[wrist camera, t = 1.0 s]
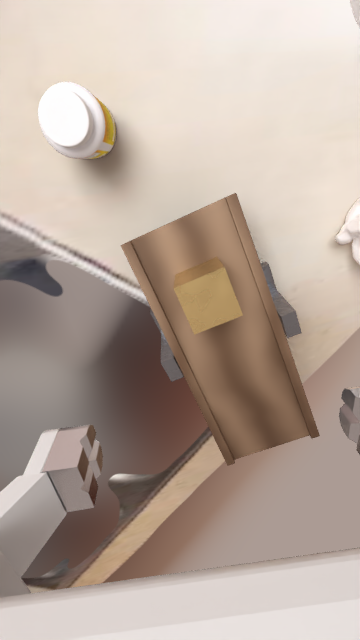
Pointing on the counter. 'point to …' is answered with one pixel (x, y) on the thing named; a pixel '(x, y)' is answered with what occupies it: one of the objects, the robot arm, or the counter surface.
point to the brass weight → (206, 295)
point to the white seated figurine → (351, 230)
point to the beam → (226, 332)
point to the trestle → (283, 310)
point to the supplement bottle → (76, 122)
